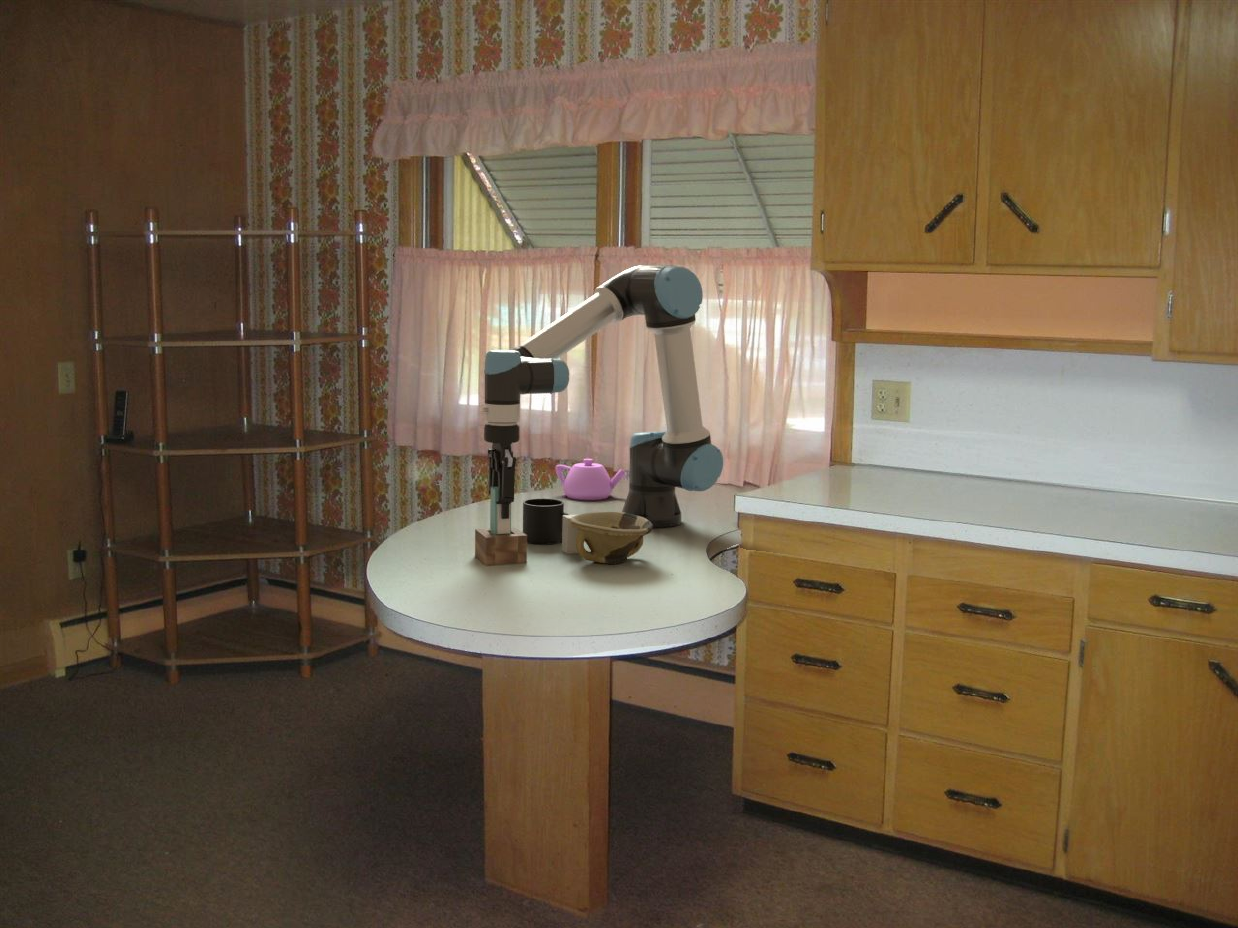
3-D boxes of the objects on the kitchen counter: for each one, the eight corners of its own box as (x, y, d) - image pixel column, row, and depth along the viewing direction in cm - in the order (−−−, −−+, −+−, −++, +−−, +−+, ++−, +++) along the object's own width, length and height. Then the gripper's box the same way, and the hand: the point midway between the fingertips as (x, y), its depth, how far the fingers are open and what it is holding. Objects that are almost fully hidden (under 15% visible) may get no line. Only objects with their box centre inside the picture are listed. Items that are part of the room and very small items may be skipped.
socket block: (514, 553, 267) (514, 526, 266) (526, 562, 259) (527, 535, 258) (475, 555, 264) (475, 529, 263) (486, 565, 255) (486, 537, 254)
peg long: (506, 544, 263) (506, 486, 261) (510, 548, 260) (511, 489, 258) (489, 545, 262) (490, 486, 260) (494, 549, 258) (495, 489, 256)
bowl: (592, 574, 250) (593, 529, 248) (556, 555, 266) (557, 513, 264) (666, 567, 258) (667, 523, 257) (627, 549, 274) (628, 507, 272)
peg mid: (577, 549, 273) (577, 514, 271) (582, 552, 269) (583, 517, 268) (562, 550, 271) (562, 515, 270) (567, 553, 268) (567, 518, 267)
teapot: (622, 502, 329) (623, 464, 327) (550, 499, 331) (551, 461, 330) (628, 494, 343) (629, 457, 341) (559, 490, 345) (560, 454, 343)
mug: (565, 547, 274) (565, 508, 273) (516, 542, 278) (516, 504, 276) (579, 539, 283) (579, 501, 282) (531, 534, 286) (532, 497, 285)
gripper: (474, 418, 263) (473, 524, 266) (495, 428, 247) (494, 540, 251) (507, 418, 265) (506, 522, 269) (530, 427, 250) (529, 538, 254)
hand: (500, 530), depth 260 cm, fingers closed on peg long, 4 cm apart
